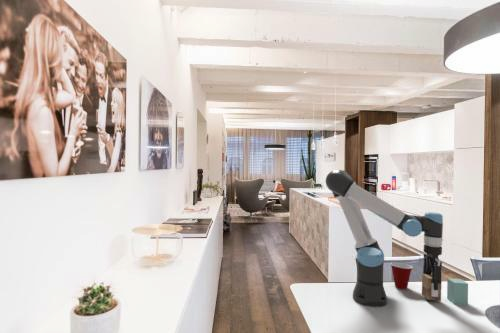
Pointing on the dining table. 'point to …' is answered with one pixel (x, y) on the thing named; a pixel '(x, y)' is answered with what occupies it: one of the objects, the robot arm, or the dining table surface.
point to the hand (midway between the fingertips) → (431, 293)
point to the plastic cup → (401, 274)
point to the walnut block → (429, 288)
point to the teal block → (457, 291)
